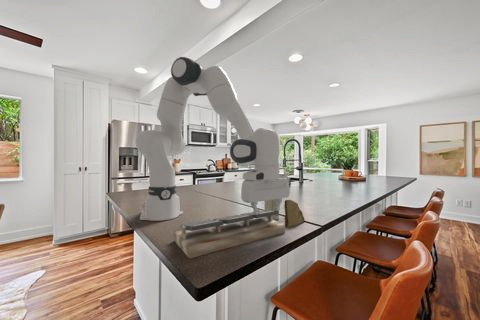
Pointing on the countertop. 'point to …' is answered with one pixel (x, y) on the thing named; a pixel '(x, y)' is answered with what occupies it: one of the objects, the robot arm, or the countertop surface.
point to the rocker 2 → (262, 214)
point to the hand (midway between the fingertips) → (266, 212)
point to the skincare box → (271, 207)
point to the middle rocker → (235, 218)
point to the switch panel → (226, 235)
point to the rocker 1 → (202, 225)
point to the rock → (292, 213)
